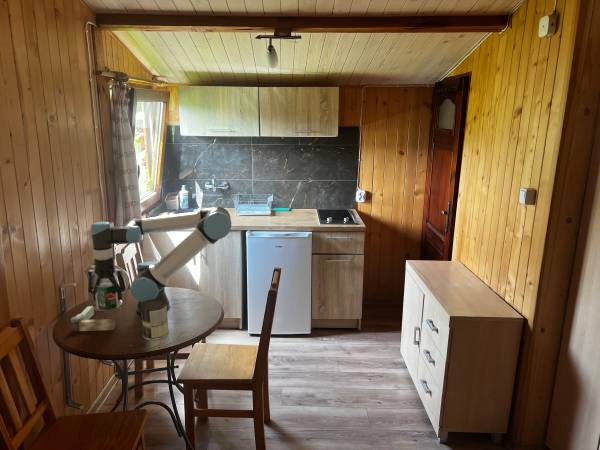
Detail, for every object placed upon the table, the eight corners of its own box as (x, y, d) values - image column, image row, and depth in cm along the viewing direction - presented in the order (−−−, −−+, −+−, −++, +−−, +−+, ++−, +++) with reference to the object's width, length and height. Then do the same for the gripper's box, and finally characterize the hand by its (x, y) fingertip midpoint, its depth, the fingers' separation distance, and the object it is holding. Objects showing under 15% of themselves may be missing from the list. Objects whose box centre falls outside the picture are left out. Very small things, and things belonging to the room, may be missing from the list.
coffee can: (139, 340, 178) (136, 308, 175) (148, 328, 188) (146, 298, 185) (164, 340, 178) (161, 308, 175) (172, 329, 188) (169, 298, 185)
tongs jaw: (80, 331, 186) (78, 320, 184) (70, 331, 185) (69, 320, 184) (95, 314, 203) (94, 303, 202) (86, 314, 202) (85, 303, 201)
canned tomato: (102, 303, 196) (100, 280, 194) (120, 303, 197) (118, 280, 194) (96, 311, 188) (93, 287, 186) (115, 310, 189) (112, 286, 187)
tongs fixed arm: (72, 331, 186) (70, 323, 185) (75, 328, 189) (74, 319, 188) (113, 330, 187) (112, 321, 186) (115, 327, 190) (114, 318, 189)
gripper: (130, 254, 192) (135, 302, 197) (82, 255, 190) (88, 304, 195) (125, 259, 185) (130, 309, 190) (75, 260, 183) (81, 310, 188)
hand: (108, 306), depth 192 cm, fingers closed on canned tomato, 8 cm apart
